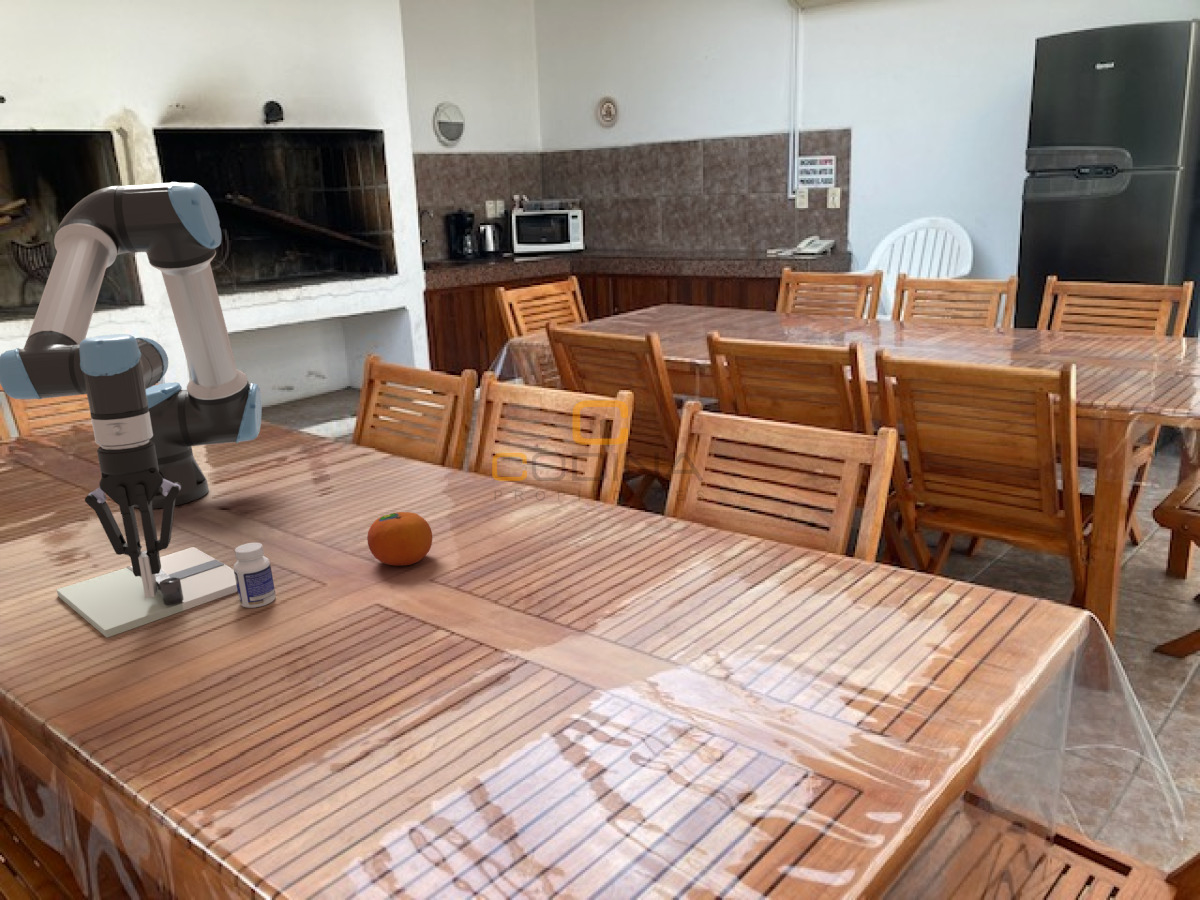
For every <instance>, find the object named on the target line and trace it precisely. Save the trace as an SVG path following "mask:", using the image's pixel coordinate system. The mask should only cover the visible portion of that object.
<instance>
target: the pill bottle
mask: <svg viewBox="0 0 1200 900" xmlns="http://www.w3.org/2000/svg"><path fill="white" fill-rule="evenodd" d="M264 553H265V552H264V547H263V544H262V543H260V542H248V543H243V544H241V545H239V546H237V547H236V548H235V549H234V554H235V559H236V562H234V564H233V569H234V574H235V579H236V585H237V590H238V591H237V596H238V601H239V605H241V606H242V607H244V608H248V609H249V608H252V609H254V608H259V607H264V606H266V605H268V604H271V603H272V602H273V601H274V600H275V599H276V596H277V595H276V588H275V582H274V579H273V571H272V565H271V562H270V559H269V558H268V557H267V556H264V555H265V554H264Z"/></svg>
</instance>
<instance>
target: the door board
mask: <svg viewBox="0 0 1200 900" xmlns="http://www.w3.org/2000/svg"><path fill="white" fill-rule="evenodd" d="M159 557H160V563H161V569H162V570H163V571H164V572H165V573H166V574H167V575H168V576H169V577H170V578H179V579H180V582H181V588H182V593H183V598H184V600H183V601H182V602H180V603H177V604H174V605H165V604H164V603H163V599H162V598H161V597H160V596H159V595H158V594H157V593H156V595H155V597H151V598H145V593H144V587H143V582H142V576H136V577H135V575H134V574H133V568H132V565H131V566H130V565H129V566H126V567H124V568H121V569H118V570H115V571H111V572H108V573H105V574H101V575H99V576H96V577H92V578H90V579H86V580H82V581H79V582H76V583H73V584H69V585H66V586H63V587H60V588H56V594H57V597H58V598H60V600H61V601H63V603H65V604H66V605H68V606H69V607H70V608H71V609H72V610H74V611H75V612H76V613H77V614H78V615H79V616H80V617H82V618H83V619H84V620H85V621H86V622H88V623H89V624H90V625H91V626H93V628H94V629H96V630H97V632H99V633H100V634H102V635H103V636H104V637H105V638H110V637H113V636H115V635H119V634H121V633H124V632H128V631H130V630H133V629H135V628H139V627H141V626H144V625H147V624H150V623H152V622H155V621H159V620H161V619H164V618H166V617H170V616H172V615H175V614H178V613H181V612H183V611H187V610H189V609H192V608H195V607H197V606H200V605H203V604H206V603H209V602H211V601H215V600H217V599H220V598H223V597H226V596H228V595H231V594H235V593H238V590H237V585H236V579H235V574H234V568H233V567H230V566H228V565H227V564H225V563H223V562H222V561H220V560H218V559H216V558H214V557H212V556H211V555H209V554H207V553H205V552H203V551H202V550H200V549H198V548H197V547H195V546H192V547H188V548H185V549H182V550H178V551H175V552H173V553H169V554H166V555H163V556H159Z"/></svg>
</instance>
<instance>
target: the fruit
mask: <svg viewBox="0 0 1200 900" xmlns="http://www.w3.org/2000/svg"><path fill="white" fill-rule="evenodd" d="M366 539H367V546H368V549H369V551H370V553H371V554H372V555H373V557H374V558H376V560H378V561H379V562H380V563H383V564H386V565H389V566H396V567H398V566H399V567H400V566H410V565H413V564H416V563H418V562H419V561H421V560H422V559H424V558H425V557H426V555H428V553H429V551H431V547H432V545H433V531H432V528H431V526H430V524H429V522H428V521H427V520H426V519H425V518H424V517H422V515H421V516H420V515H419V514H418V513H415V512H409V511H395V512H392V513H389V514H385V515H382V516H380V517H378V518H377V519H376V520H375V521H373V523H371V525H370V527H369V529H368V531H367V537H366Z"/></svg>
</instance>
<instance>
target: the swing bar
mask: <svg viewBox="0 0 1200 900" xmlns="http://www.w3.org/2000/svg"><path fill="white" fill-rule="evenodd" d="M155 577H156V583H157V589H158V591H157V594H158V595H159V596H160V597H161V598H162V599H163V603H164V604H165V605H174V604H177V603H180V602H182V601H183V600H184V598H183V593H182V588H181V582H180V579H179V578H170V577H169V576H168V575H167V574H166V573H165V572H164V571H163V570H162V569H160V572H159V574H155Z"/></svg>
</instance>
